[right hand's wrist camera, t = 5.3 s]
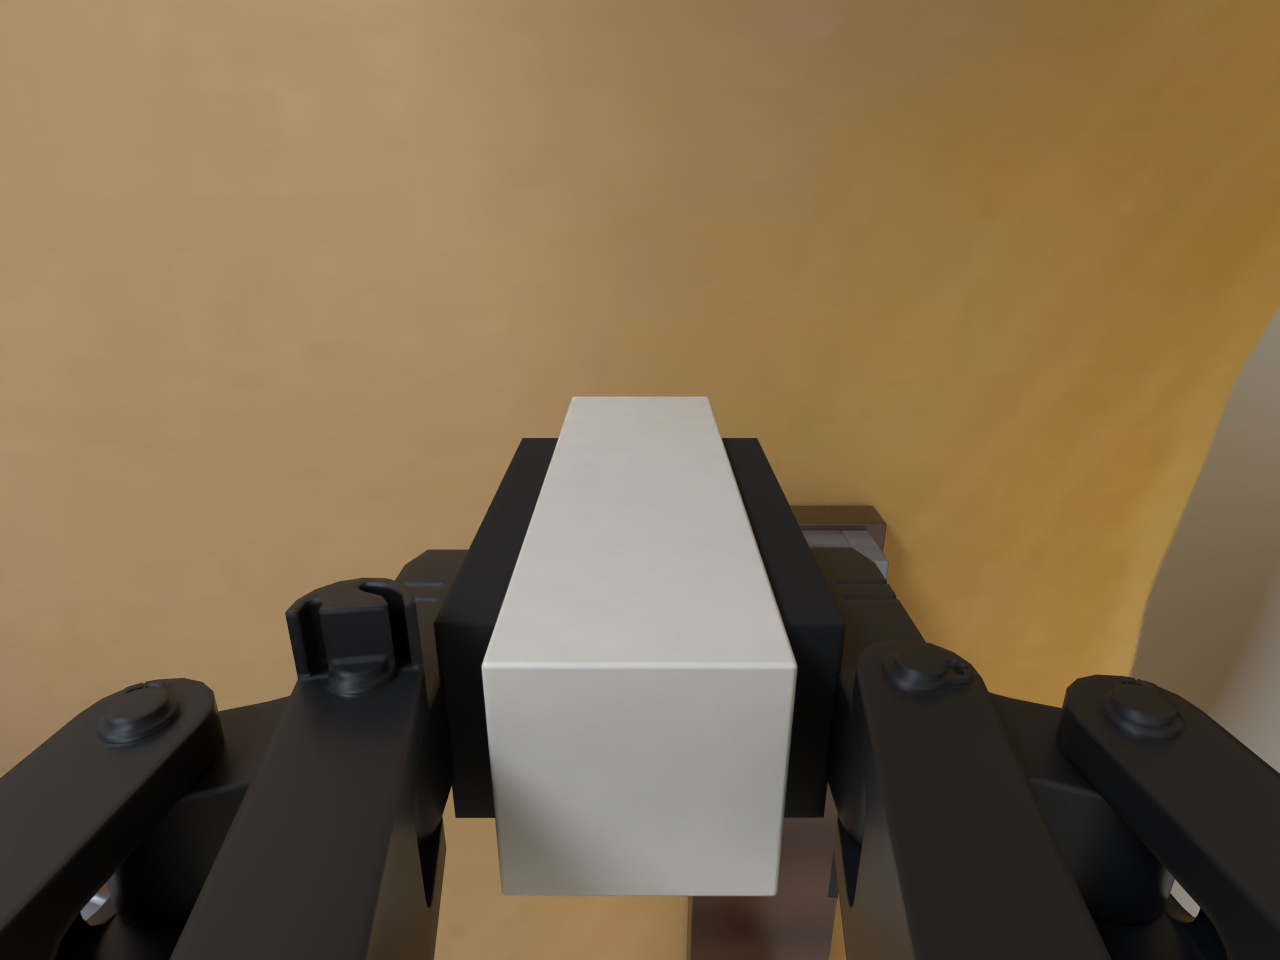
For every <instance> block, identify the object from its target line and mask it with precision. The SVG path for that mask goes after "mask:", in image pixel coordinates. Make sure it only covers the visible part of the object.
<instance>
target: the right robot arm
mask: <svg viewBox="0 0 1280 960" xmlns="http://www.w3.org/2000/svg"><path fill="white" fill-rule="evenodd" d="M558 439H559V438H522V440H521V442H520V445H519V447H518V449H517V451H516V453H515V455H514V457H513V459H512V461H511V463H510V465H509V467H508V469H507V472H506V474H505V476H504V478H503V480H502V482H501V484H500V486H499V488H498V490H497V492H496V494H495V496H494V499H493V501H492V503H491V505H490V507H489V509H488V511H487V513H486V515H485V517H484V519H483V521H482V523H481V525H480V528H479V530H478V532H477V534H476V536H475V538H474V540H473V542H472V544H471V546H470V548H469V550H427V551H425V552H424V553H422V554H421V555H419V556H418V557H416V558H415V559H413V560H412V561H410V562H409V563H407V564H406V565H405V566H404V567H403V569H402V570H401V572H400V574H399V575H398V577H397V578H396V580H395V581H394V580H390V579H386V578H359V579H353V580H346V581H340V582H336V583H333V584H330V585H327V586H324V587H321V588H318V589H316V590H314V591H312V592H310V593H308V594H307V595H305V596H303V597H301V598H300V599H298V600H296V602H295V603H294V604H293V605H292V606H291V607H290V608H289V609H288V610H287V611H286V612H285V614H286V620H287V625H288V630H289V635H290V640H291V645H292V650H293V655H294V660H295V665H296V670H297V675H298V680H297V683H296V685H295V687H294V689H293V691H292V694H291V695H290V696H288V697H284V698H280V699H276V700H273V701H269V702H264V703H259V704H254V705H249V706H244V707H239V708H234V709H229V710H224V711H219V712H218V708H217V704H216V700H215V696H214V692H213V691H212V690H211V689H210V688H209V687H208V686H206V685H205V684H204V683H203V682H200V681H195V680H190V679H186V678H177V679H161V680H153V681H147V682H146V683H139V684H136V685H132V686H129V687H127V688H125V689H123V690H121V691H119V692H117V693H114V694H112V695H110V696H107V697H105V698H103V699H101V700H100V701H98V702H97V703H95V704H93V705H92V706H90V707H89V708H87V709H86V710H84V711H83V712H81V713H80V714H78V715H77V716H76V717H75V718H73V719H72V720H71V721H70V722H69V723H67V724H66V725H65V726H64V727H62V728H61V729H60V730H59V731H58V732H56V733H55V734H54V735H53V736H51V737H50V738H49V739H48V740H47V741H45V742H44V743H43V744H42V745H40V746H39V747H38V748H37V749H36V750H34V751H33V752H32V753H31V754H29V755H28V756H27V757H26V758H25V759H23V760H22V761H21V762H20V763H19V764H17V765H16V766H15V767H14V768H12V769H11V770H10V771H9V772H8V773H6V774H5V775H4V776H3V777H1V778H0V960H434V953H435V944H436V935H437V926H438V917H439V909H440V900H441V891H442V882H443V873H444V864H445V855H446V843H445V835H444V826H443V818H442V814H443V811H444V808H445V805H446V802H447V799H448V796H449V792H450V789H451V786H452V790H453V798H454V807H455V816H456V818H495V810H494V799H493V788H492V777H491V766H490V755H489V744H488V733H487V722H486V711H485V700H484V689H483V678H482V667H481V666H482V663H483V660H484V657H485V654H486V651H487V648H488V645H489V642H490V639H491V637H492V634H493V631H494V628H495V625H496V622H497V619H498V616H499V613H500V610H501V607H502V604H503V601H504V598H505V595H506V592H507V589H508V586H509V583H510V580H511V577H512V575H513V572H514V569H515V566H516V563H517V560H518V557H519V554H520V551H521V548H522V545H523V542H524V539H525V536H526V533H527V530H528V527H529V524H530V521H531V518H532V515H533V512H534V510H535V507H536V504H537V501H538V498H539V495H540V492H541V489H542V486H543V483H544V480H545V477H546V474H547V471H548V468H549V465H550V462H551V459H552V456H553V453H554V450H555V447H556V445H557V442H558ZM722 441H723V444H724V447H725V450H726V453H727V456H728V459H729V462H730V465H731V468H732V471H733V474H734V477H735V480H736V483H737V486H738V489H739V492H740V495H741V498H742V501H743V504H744V507H745V510H746V513H747V516H748V519H749V522H750V525H751V528H752V531H753V534H754V537H755V540H756V543H757V546H758V549H759V552H760V555H761V558H762V561H763V564H764V567H765V570H766V573H767V576H768V579H769V582H770V585H771V588H772V591H773V594H774V597H775V600H776V603H777V606H778V609H779V612H780V615H781V618H782V621H783V624H784V627H785V630H786V633H787V636H788V639H789V642H790V645H791V648H792V651H793V654H794V657H795V660H796V663H797V666H798V667H797V678H796V689H795V701H794V712H793V723H792V734H791V745H790V756H789V767H788V778H787V790H786V801H785V812H784V818H824V812H825V803H826V794H827V786H828V784H829V787H830V790H831V793H832V796H833V800H834V803H835V806H836V809H837V812H838V818H837V826H836V835H835V843H834V851H833V859H832V867H831V875H830V883H829V891H828V897H831V898H838V893H839V898H840V907H841V916H842V925H843V934H844V942H845V951H846V960H1280V774H1279V773H1278V772H1277V771H1276V770H1274V769H1273V768H1272V767H1271V766H1269V765H1268V764H1267V763H1266V762H1265V761H1263V760H1262V759H1261V758H1260V757H1258V756H1257V755H1256V754H1255V753H1254V752H1252V751H1251V750H1250V749H1249V748H1247V747H1246V746H1245V745H1244V744H1242V743H1241V742H1240V741H1239V740H1237V739H1236V738H1235V737H1234V736H1233V735H1231V734H1230V733H1229V732H1228V731H1226V730H1225V729H1224V728H1223V727H1222V726H1220V725H1219V724H1218V723H1217V722H1215V721H1214V720H1213V719H1212V718H1210V717H1209V716H1208V715H1207V714H1206V713H1204V712H1203V711H1202V710H1200V709H1199V708H1197V707H1196V706H1194V705H1193V704H1191V703H1189V702H1188V701H1186V700H1185V699H1183V698H1182V697H1180V696H1179V695H1177V694H1174V693H1172V692H1170V691H1167V690H1165V689H1163V688H1160V687H1158V686H1156V685H1155V684H1153V683H1150V682H1147V681H1143V680H1140V679H1138V680H1135V679H1134V678H1131V677H1125V676H1111V675H1093V676H1088V677H1083V678H1079V679H1077V680H1076V681H1074V682H1073V683H1072V684H1071V685H1070V686H1069V687H1068V688H1067V690H1066V694H1065V698H1064V702H1063V706H1062V708H1058V707H1053V706H1048V705H1043V704H1037V703H1032V702H1027V701H1022V700H1017V699H1012V698H1008V697H1004V696H1001V695H997V694H993V693H990V692H988V690H987V688H986V686H985V684H984V681H983V679H982V678H981V676H980V675H979V674H978V672H977V671H976V670H975V669H974V667H973V666H972V665H971V664H970V663H969V662H967V661H966V660H964V659H963V658H961V657H960V656H958V655H957V654H955V653H954V652H951V651H949V650H946V649H944V648H941V647H938V646H936V645H933V644H931V643H926V642H925V640H924V639H923V637H922V635H921V634H920V632H919V631H918V629H917V628H916V626H915V624H914V623H913V621H912V620H911V618H910V617H909V615H908V613H907V612H906V610H905V609H904V607H903V606H902V604H901V603H900V601H899V600H896V595H895V593H894V592H893V590H892V588H891V587H890V585H889V584H887V581H886V579H885V578H884V576H883V574H882V573H881V571H880V570H879V568H878V567H877V565H876V563H875V562H873V561H872V560H870V559H869V558H867V557H866V556H864V555H863V554H861V553H860V552H858V551H857V550H855V549H854V548H852V547H809V545H808V543H807V541H806V539H805V537H804V535H803V533H802V531H801V529H800V527H799V524H798V522H797V520H796V518H795V516H794V514H793V512H792V510H791V508H790V506H789V504H788V502H787V500H786V497H785V495H784V493H783V491H782V489H781V487H780V485H779V483H778V481H777V479H776V477H775V475H774V473H773V470H772V468H771V466H770V464H769V462H768V460H767V458H766V456H765V454H764V452H763V450H762V448H761V446H760V443H759V441H758V439H757V438H722ZM1175 879H1176V881H1177V882H1178V883H1179V884H1180V885H1181V886H1182V887H1183V888H1184V890H1185V891H1186V892H1187V893H1188V894H1189V895H1190V896H1191V897H1192V899H1193V900H1194V901H1195V902H1196V903H1197V904H1198V905H1199V906H1200V911H1199V913H1198V915H1197V917H1196V918H1195V917H1193V916H1192V915H1191V914H1189V913H1188V912H1187V911H1186V910H1185V909H1184V908H1183V907H1182V906H1181V905H1180V904H1179V903H1178V902H1177V900H1176V899H1175V898H1174V897H1173V896H1172V895H1171V893H1170V891H1171V888H1172V886H1173V883H1174V880H1175Z"/></svg>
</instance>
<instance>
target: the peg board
mask: <svg viewBox="0 0 1280 960" xmlns="http://www.w3.org/2000/svg"><path fill="white" fill-rule="evenodd" d="M790 508H791V510H792V512H793V514H794V516H795V518H796V520H797V522H798V524H799V527H800V529H801V531H802V533H803V535H804V537H805V539H806V541H807V543H808V545H809V547H852V548H854V549H855V550H857V551H858V552H860V553H861V554H863V555H864V556H866V557H867V558H869V559H870V560H872V561H873V562H875V563H876V565H877V567H878V568H879V570H880V571H881V573H882V574H883V576H884V578H885V579H886V578H887V570H888V563H889V562H888V560H887V558H886V557H885V555H884V554H883V546H884V539H885V531H886V523H885V521H884V520H883V519H882V517H881V516H880V515H879V513H878V512H877V511H876V509H875V508H874V507H873V506H790ZM837 818H838V812H837V809H836V806H835V803H834V800H833V796H832V793H831V790H830V787H829V784H828V786H827V794H826V803H825V812H824V818H784V823H783V834H782V845H781V856H780V867H779V878H778V890H777V893H776V895H774V896H689V903H688V932H687V960H829V955H830V948H831V940H832V933H833V925H834V918H835V910H836V902H837V898H831V897H828V891H829V883H830V875H831V867H832V859H833V851H834V843H835V835H836V826H837Z"/></svg>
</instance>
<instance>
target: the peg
mask: <svg viewBox="0 0 1280 960" xmlns="http://www.w3.org/2000/svg"><path fill="white" fill-rule="evenodd" d="M481 667H482V678H483V689H484V700H485V711H486V722H487V733H488V744H489V755H490V766H491V777H492V788H493V799H494V810H495V821H496V832H497V843H498V854H499V865H500V876H501V887H502V893H503V894H504V895H506V896H774V895H776V893H777V890H778V878H779V867H780V856H781V845H782V834H783V823H784V812H785V801H786V790H787V778H788V767H789V756H790V745H791V734H792V723H793V712H794V701H795V689H796V678H797V667H798V666H797V663H796V660H795V657H794V654H793V651H792V648H791V645H790V642H789V639H788V636H787V633H786V630H785V627H784V624H783V621H782V618H781V615H780V612H779V609H778V606H777V603H776V600H775V597H774V594H773V591H772V588H771V585H770V582H769V579H768V576H767V573H766V570H765V567H764V564H763V561H762V558H761V555H760V552H759V549H758V546H757V543H756V540H755V537H754V534H753V531H752V528H751V525H750V522H749V519H748V516H747V513H746V510H745V507H744V504H743V501H742V498H741V495H740V492H739V489H738V486H737V483H736V480H735V477H734V474H733V471H732V468H731V465H730V462H729V459H728V456H727V453H726V450H725V447H724V444H723V441H722V438H721V435H720V432H719V429H718V426H717V423H716V420H715V417H714V414H713V411H712V408H711V405H710V402H709V399H708V397H573V398H572V400H571V403H570V406H569V409H568V412H567V415H566V418H565V421H564V424H563V427H562V430H561V433H560V436H559V439H558V442H557V445H556V447H555V450H554V453H553V456H552V459H551V462H550V465H549V468H548V471H547V474H546V477H545V480H544V483H543V486H542V489H541V492H540V495H539V498H538V501H537V504H536V507H535V510H534V512H533V515H532V518H531V521H530V524H529V527H528V530H527V533H526V536H525V539H524V542H523V545H522V548H521V551H520V554H519V557H518V560H517V563H516V566H515V569H514V572H513V575H512V577H511V580H510V583H509V586H508V589H507V592H506V595H505V598H504V601H503V604H502V607H501V610H500V613H499V616H498V619H497V622H496V625H495V628H494V631H493V634H492V637H491V639H490V642H489V645H488V648H487V651H486V654H485V657H484V660H483V663H482V666H481Z"/></svg>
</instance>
